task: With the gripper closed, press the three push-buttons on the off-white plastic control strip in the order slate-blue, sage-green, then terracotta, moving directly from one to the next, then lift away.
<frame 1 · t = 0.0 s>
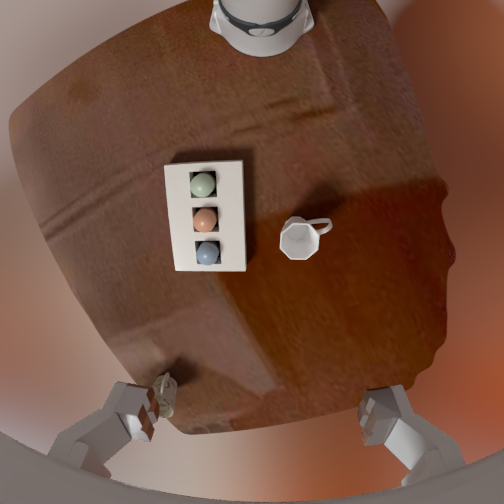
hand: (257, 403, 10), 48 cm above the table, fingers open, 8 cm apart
cup: (302, 223, 58), on the table
mug: (167, 377, 76), on the table
terracotta button: (205, 219, 55), point 3 cm above the table, slide at 0.0 cm
slate button: (208, 252, 57), point 3 cm above the table, slide at 0.0 cm
sage button: (203, 184, 52), point 3 cm above the table, slide at 0.0 cm
button panel: (208, 215, 58), on the table
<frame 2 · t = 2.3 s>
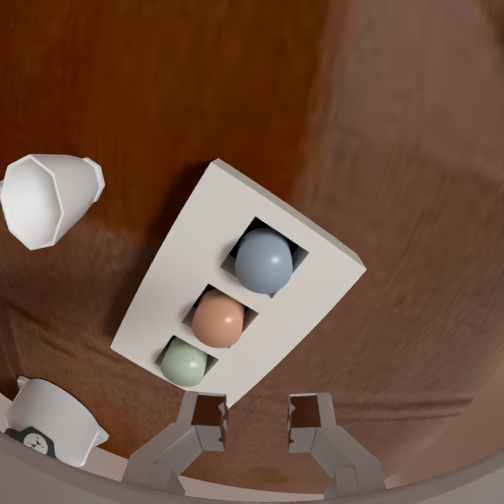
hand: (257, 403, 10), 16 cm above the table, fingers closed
cup: (74, 178, 24), on the table
terracotta button: (218, 318, 25), point 3 cm above the table, slide at 0.0 cm
slate button: (264, 259, 22), point 3 cm above the table, slide at 0.0 cm
sage button: (185, 361, 27), point 3 cm above the table, slide at 0.0 cm
button panel: (223, 299, 27), on the table
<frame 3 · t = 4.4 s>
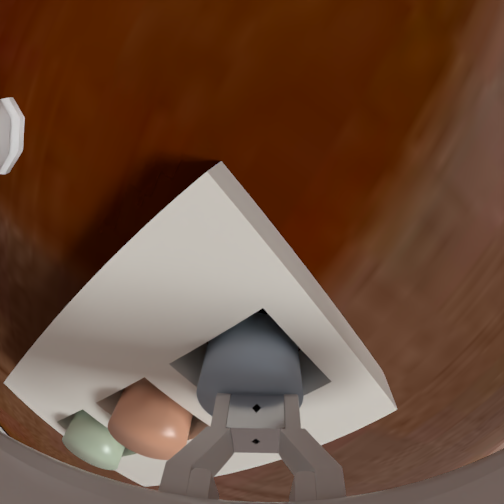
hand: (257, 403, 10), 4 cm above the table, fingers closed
terracotta button: (152, 418, 13), point 3 cm above the table, slide at 0.0 cm
slate button: (251, 372, 12), point 3 cm above the table, slide at 0.2 cm, touching gripper
sage button: (96, 437, 15), point 3 cm above the table, slide at 0.0 cm
button panel: (165, 380, 16), on the table
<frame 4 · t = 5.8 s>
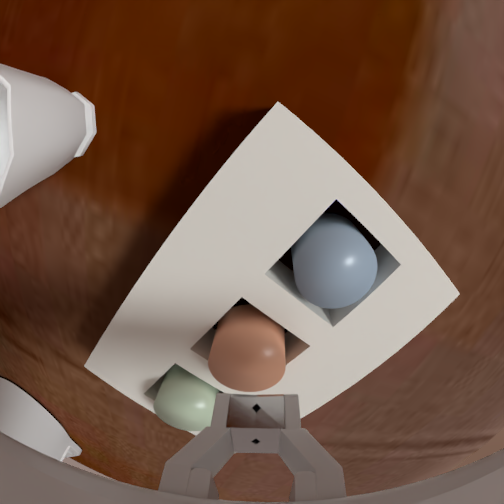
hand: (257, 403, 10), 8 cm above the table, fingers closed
cup: (55, 122, 15), on the table
terracotta button: (248, 348, 16), point 3 cm above the table, slide at 0.0 cm
slate button: (331, 259, 15), point 2 cm above the table, slide at 1.2 cm
sage button: (187, 398, 18), point 3 cm above the table, slide at 0.0 cm
button panel: (252, 318, 19), on the table
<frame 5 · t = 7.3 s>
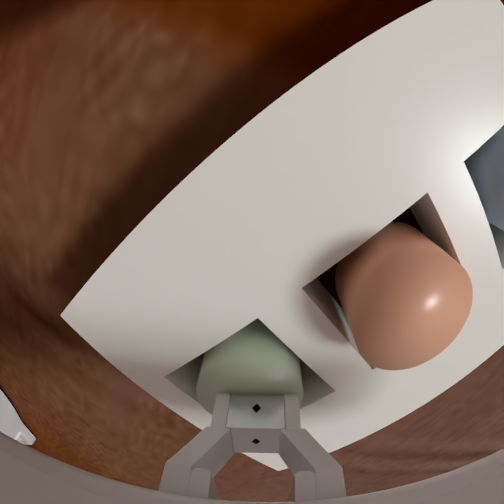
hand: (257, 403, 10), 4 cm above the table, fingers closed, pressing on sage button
terracotta button: (401, 294, 9), point 3 cm above the table, slide at 0.0 cm
sage button: (251, 370, 12), point 2 cm above the table, slide at 1.0 cm, touching gripper
button panel: (373, 257, 12), on the table
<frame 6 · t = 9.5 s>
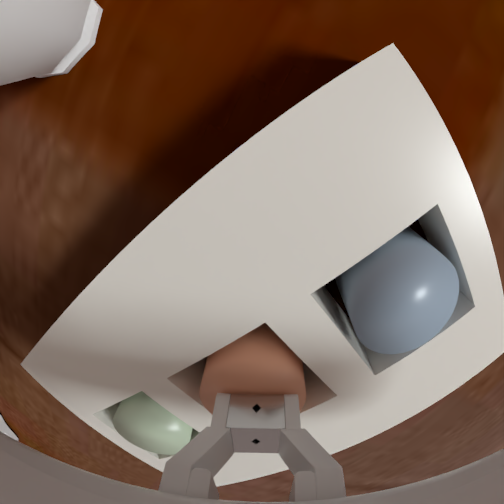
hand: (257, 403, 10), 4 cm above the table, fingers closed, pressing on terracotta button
cup: (45, 29, 8), on the table
terracotta button: (254, 372, 12), point 2 cm above the table, slide at 1.1 cm, touching gripper
slate button: (394, 285, 10), point 2 cm above the table, slide at 1.2 cm
sage button: (157, 414, 14), point 2 cm above the table, slide at 1.2 cm
button panel: (255, 342, 14), on the table
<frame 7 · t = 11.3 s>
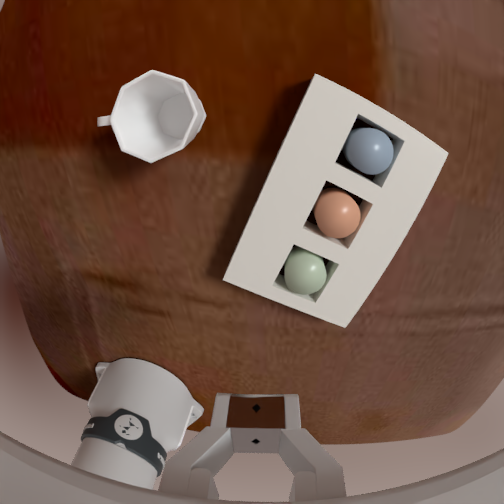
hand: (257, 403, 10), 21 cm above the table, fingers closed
cup: (170, 116, 26), on the table
terracotta button: (335, 212, 27), point 2 cm above the table, slide at 1.2 cm
slate button: (367, 149, 24), point 2 cm above the table, slide at 1.2 cm
sage button: (304, 269, 30), point 2 cm above the table, slide at 1.2 cm
button panel: (332, 206, 29), on the table
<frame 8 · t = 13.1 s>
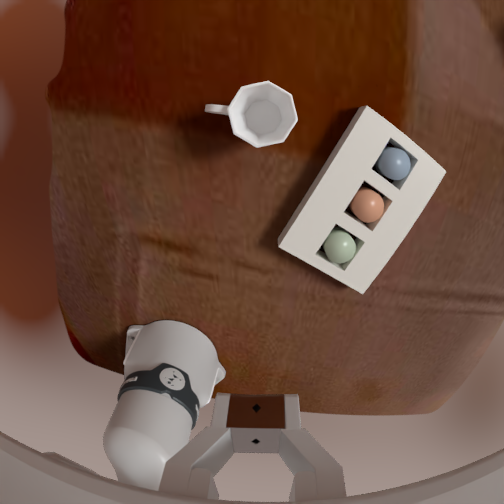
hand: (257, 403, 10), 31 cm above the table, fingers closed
cup: (251, 115, 35), on the table
terracotta button: (365, 204, 36), point 2 cm above the table, slide at 1.2 cm
slate button: (392, 162, 34), point 2 cm above the table, slide at 1.2 cm
sage button: (338, 244, 39), point 2 cm above the table, slide at 1.2 cm
button panel: (361, 200, 38), on the table
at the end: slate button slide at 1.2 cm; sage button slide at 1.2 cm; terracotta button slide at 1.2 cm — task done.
